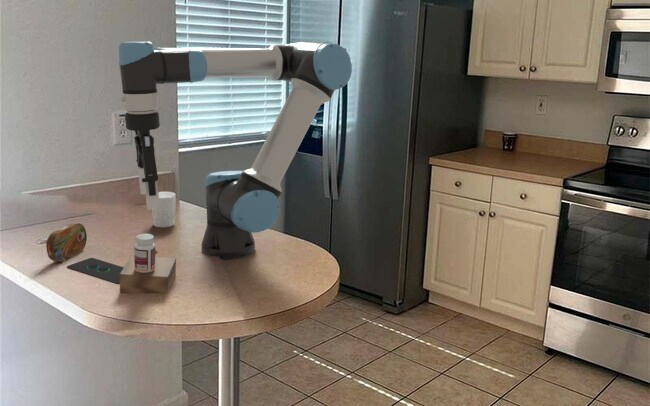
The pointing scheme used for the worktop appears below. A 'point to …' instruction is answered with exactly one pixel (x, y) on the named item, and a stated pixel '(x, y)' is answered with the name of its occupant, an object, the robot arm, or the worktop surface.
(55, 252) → the tin
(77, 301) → the worktop surface
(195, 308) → the worktop surface
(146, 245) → the pill bottle
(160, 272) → the wooden block
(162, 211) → the white cup
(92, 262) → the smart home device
